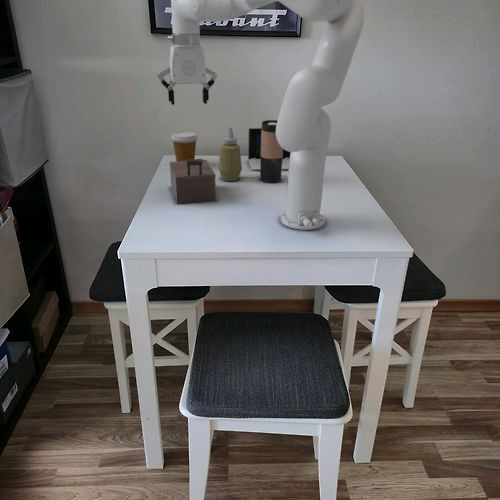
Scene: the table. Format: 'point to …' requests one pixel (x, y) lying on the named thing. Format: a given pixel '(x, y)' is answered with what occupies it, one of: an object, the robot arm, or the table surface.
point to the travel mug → (270, 153)
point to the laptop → (255, 150)
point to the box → (193, 189)
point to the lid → (192, 169)
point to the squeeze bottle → (230, 158)
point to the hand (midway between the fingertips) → (188, 103)
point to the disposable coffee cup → (184, 145)
